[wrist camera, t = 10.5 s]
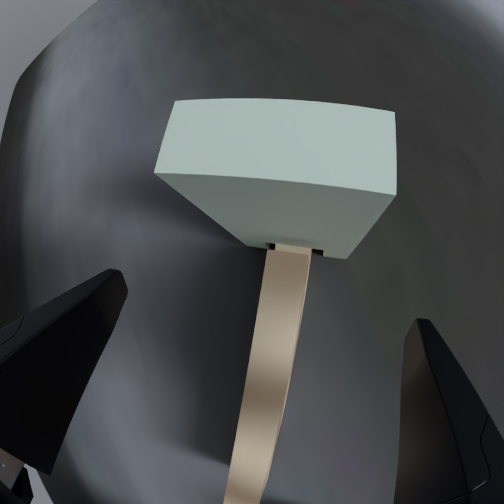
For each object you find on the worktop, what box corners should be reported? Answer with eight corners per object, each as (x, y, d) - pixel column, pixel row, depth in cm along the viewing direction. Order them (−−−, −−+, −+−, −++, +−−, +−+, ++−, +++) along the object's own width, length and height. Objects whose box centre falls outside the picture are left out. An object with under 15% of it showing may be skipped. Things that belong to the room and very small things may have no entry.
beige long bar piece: (268, 475, 17) (255, 515, 13) (241, 470, 18) (222, 507, 13) (320, 177, 20) (321, 142, 15) (291, 174, 20) (284, 139, 16)
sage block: (345, 259, 19) (395, 195, 7) (247, 246, 20) (153, 172, 8) (349, 221, 19) (394, 112, 7) (253, 209, 21) (175, 101, 8)
